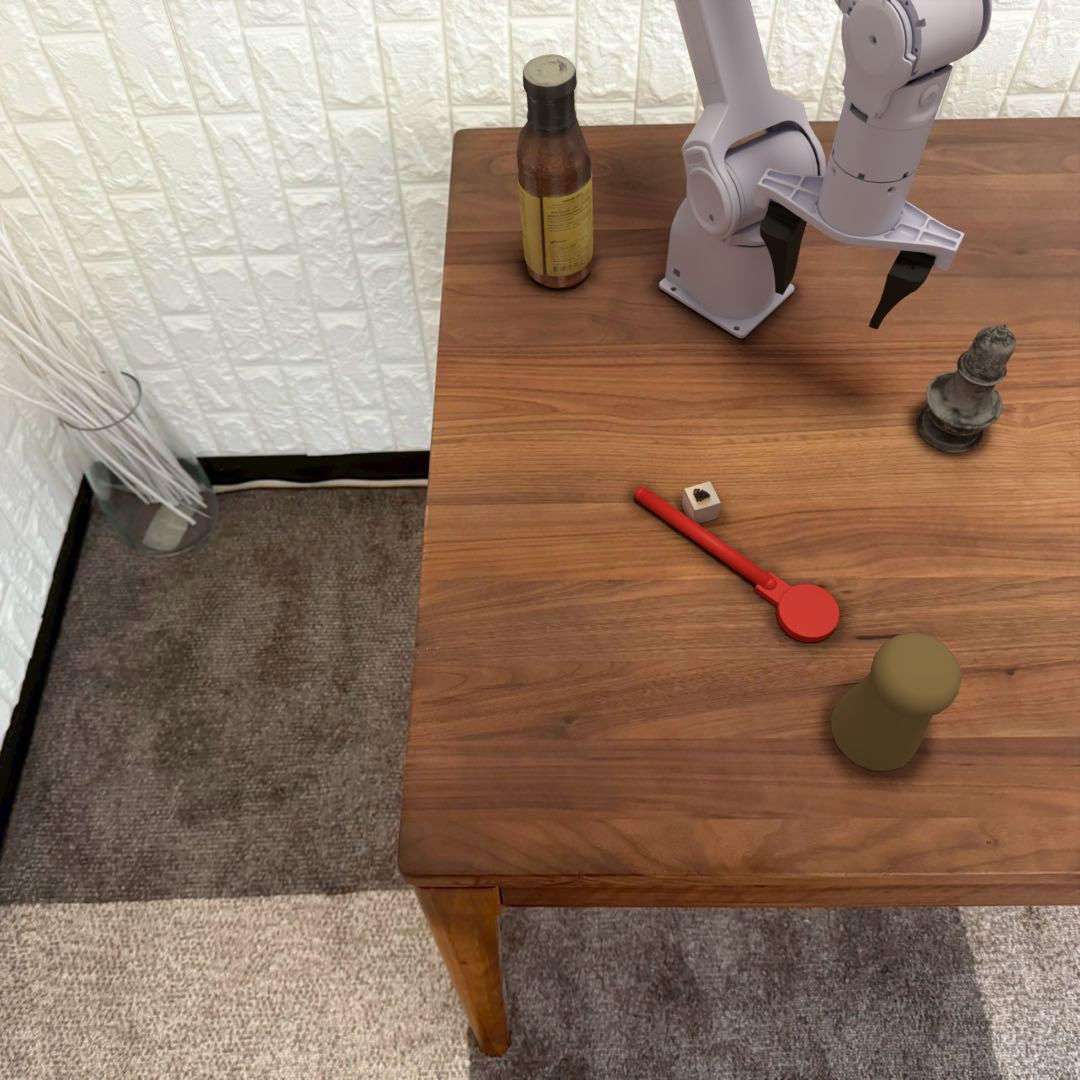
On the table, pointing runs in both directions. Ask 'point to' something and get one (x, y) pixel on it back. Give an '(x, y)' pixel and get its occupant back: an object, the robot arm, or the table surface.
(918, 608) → the table surface
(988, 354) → the chess piece
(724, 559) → the spoon
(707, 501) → the cube with dark pebbles
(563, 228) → the sauce bottle
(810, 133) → the robot arm
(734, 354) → the table surface
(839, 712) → the cork
